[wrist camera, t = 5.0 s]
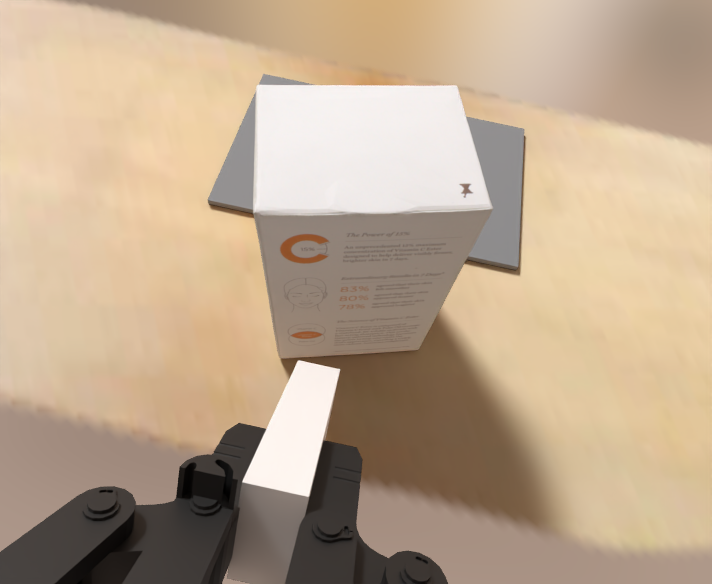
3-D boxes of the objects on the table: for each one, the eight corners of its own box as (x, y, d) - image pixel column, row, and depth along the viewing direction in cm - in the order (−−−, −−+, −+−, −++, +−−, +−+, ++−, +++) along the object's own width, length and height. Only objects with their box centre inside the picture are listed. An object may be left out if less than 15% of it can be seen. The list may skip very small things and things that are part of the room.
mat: (522, 132, 37) (524, 128, 36) (515, 270, 31) (518, 266, 30) (264, 78, 37) (263, 74, 37) (208, 203, 31) (207, 199, 31)
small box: (404, 257, 31) (462, 80, 19) (420, 352, 28) (499, 210, 16) (274, 262, 30) (252, 79, 18) (276, 361, 27) (252, 216, 15)
